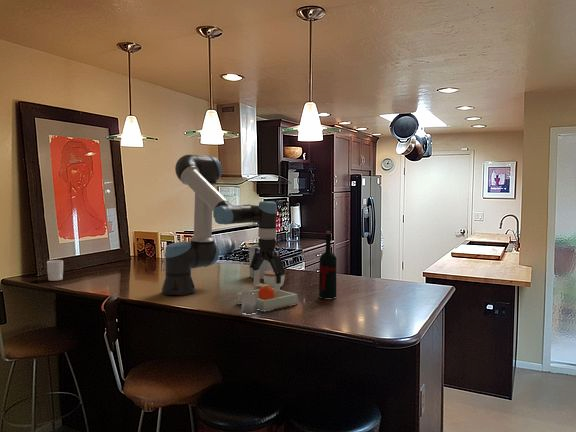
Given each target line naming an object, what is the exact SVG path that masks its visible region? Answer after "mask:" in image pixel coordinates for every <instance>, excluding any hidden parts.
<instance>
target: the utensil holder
mask: <svg viewBox="0 0 576 432" xmlns="http://www.w3.org/2000/svg"><path fill="white" fill-rule="evenodd" d="M247 248H248V260H249V262H248V263H249V264H248V265H249V266H248V267H249V277H251V278H250V279H252V278H254V276H253V274H254V273H253V268H250V265H251V262H252V259H253V256H254V253H255V248H260V247H258V243H257V244H250V245H248V247H247ZM275 250H276V247H275V248H274V251H275ZM272 259H273V258H272ZM253 265H254V264H253ZM258 270H260V280H264V275H263V272H265V271H270V270H273V268H272V266H271V264H270V262H268V261H266V260H264V261H263V263H262V264H261V266H260V267H259V269H258Z"/></svg>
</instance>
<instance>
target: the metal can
mask: <svg viewBox="0 0 576 432" xmlns="http://www.w3.org/2000/svg"><path fill="white" fill-rule="evenodd" d="M241 293H242V292H241ZM256 312H257V313H258V310H257V293H256V292H248V291H243V293H242V305H241V314H242V313H246V314H252V313H256Z"/></svg>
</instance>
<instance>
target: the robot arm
mask: <svg viewBox="0 0 576 432" xmlns="http://www.w3.org/2000/svg"><path fill="white" fill-rule="evenodd" d="M174 168H175V171H174V173H175V175H176V177H177V178H178V179H179V181H180V182H181V183H182V184H184V185H186V186H188V187H189V188H190V189H191V190H192V191H193V192H194V215H193V216H194V217H193V219H194V220H193V236H192V237H191V238H190V239H189V240H190V241H178V242H173V243H169V244H167V245H166V247H165V250H164V251H165V253H164V256H165V257H164V258H165V261H164V262H165V264H164V265H165V271H164V272H165V277H164V281H163V284H162V287H161V294H162V295H163V294H164V296H167V295H183V296H187V295H186V294H189V295H192V294H191V293H193V294H195V293H196V287H195V284H194V281H193V277H192V269H197V268H206V267H209V266H213V265H214V264H216V262H217V261H218V259H219V256H220V248H219V245H218V244H217V243H216V242H215V238H213V235H212V234H213V233H212V232H213V231H212V230H213V219H214V221H215V223H216V224H218V225H232V224H233V225H234V224H247V223H249V224H250V223H254V224H258V232H257V233H258V234H257V237H258V240H257V241H258V243H257V244H258V247H260V248H255V253H254V256H253V259H252V262H251V265H250V268H253V273H254V274H253V276H254V279H253V286H254V285H260V283H261V282H260V281H261V279H260V270H258V269H259V267H260V266H261V264H262V263H263V261H264V260H266V261H268V262H270V264H271V266H272V268H273V271H274V273H275V275H274V291H275V292H276V291H280V290H281V287H280V283H281V275H284V274H285V275H286V272H285V269H284V265H283V262H282V259H281V252H280V251H279V250H278V251H274V248H275V249H276V247H277V239H276V238H277V221H278V220H277V217H278V209H277V207H278V206H277V202H275V201H269V200H268V201H267V200H266V201H265V200H263V201H259V202H258V205H255V204H254V205H253V204H242V205H233V204H232V203H230V201H229V200H227V199H226V197H224V196H223V194H221V192H220V191H218V190H217V189H216V188H215V186H217V181H218V180H220V178H221V176H222V173H223V167H222V164H221V162H220V161H219V158H217V157H216V156H212V155H199V154H198V155H197V154H184V155H183V156H181V157H179V158H178V159H177V160H176V163H175V167H174ZM272 258H273V259H272ZM253 264H254V265H253ZM250 268H249V269H250ZM281 271H282V272H281Z"/></svg>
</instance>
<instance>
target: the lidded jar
mask: <svg viewBox="0 0 576 432" xmlns="http://www.w3.org/2000/svg"><path fill="white" fill-rule="evenodd" d="M281 272H282V271H281ZM263 275H264V279H263V282H264V284H268V285H269V286H270V287H271V288H274V275H275V273H274V271H273V270H270V271H265V272H263ZM285 276H286V273H285V274H284V275H281V283H280V288H281V287H282V286H283V285H284V282H285V279H286V277H285Z"/></svg>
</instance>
